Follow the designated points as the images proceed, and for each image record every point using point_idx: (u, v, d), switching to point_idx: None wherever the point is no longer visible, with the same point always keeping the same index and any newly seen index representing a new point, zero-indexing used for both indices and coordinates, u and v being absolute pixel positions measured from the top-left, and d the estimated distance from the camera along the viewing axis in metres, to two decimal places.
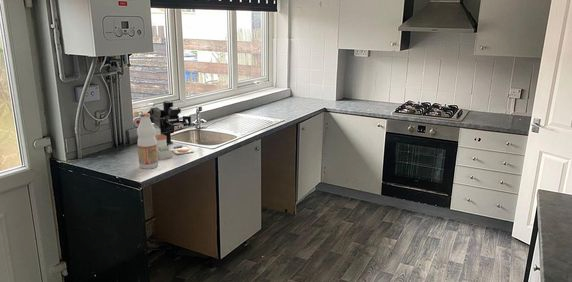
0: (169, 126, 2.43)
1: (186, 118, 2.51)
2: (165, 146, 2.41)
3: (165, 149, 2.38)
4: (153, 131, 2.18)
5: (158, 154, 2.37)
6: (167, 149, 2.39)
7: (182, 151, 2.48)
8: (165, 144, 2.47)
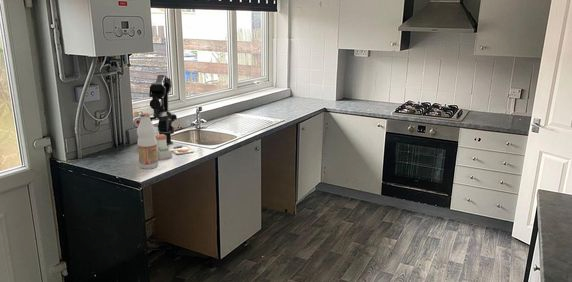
0: None
1: (171, 122, 2.46)
2: (165, 146, 2.41)
3: (165, 149, 2.38)
4: (153, 131, 2.18)
5: (158, 154, 2.37)
6: (167, 149, 2.39)
7: (182, 151, 2.48)
8: (165, 144, 2.47)
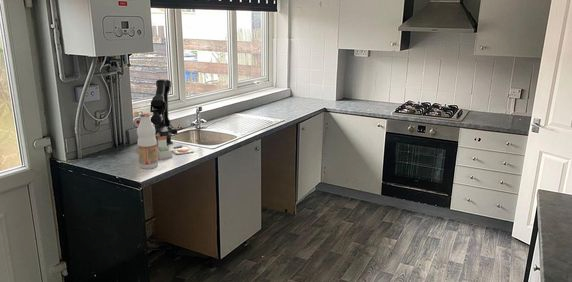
0: None
1: (168, 137, 2.48)
2: (165, 146, 2.41)
3: (165, 149, 2.38)
4: (153, 131, 2.18)
5: (158, 154, 2.37)
6: (167, 149, 2.39)
7: (182, 151, 2.48)
8: (165, 144, 2.47)
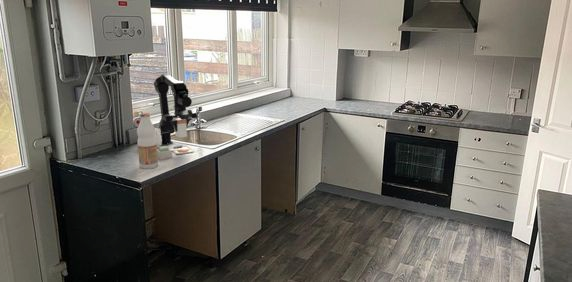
0: (174, 127, 2.45)
1: (188, 120, 2.46)
2: (165, 146, 2.41)
3: (165, 149, 2.38)
4: (153, 131, 2.18)
5: (158, 154, 2.37)
6: (167, 149, 2.39)
7: (182, 151, 2.48)
8: (185, 128, 2.45)
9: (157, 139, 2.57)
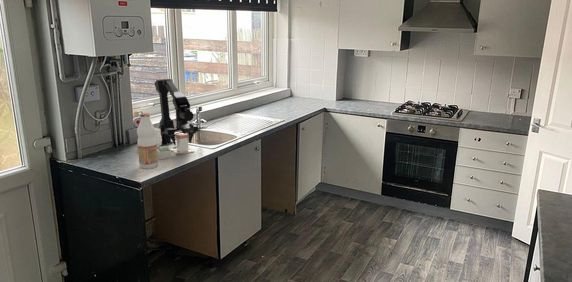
0: None
1: (193, 133, 2.49)
2: (165, 146, 2.41)
3: (165, 149, 2.38)
4: (153, 131, 2.18)
5: (158, 154, 2.37)
6: (167, 149, 2.39)
7: None
8: (187, 142, 2.48)
9: (157, 139, 2.57)
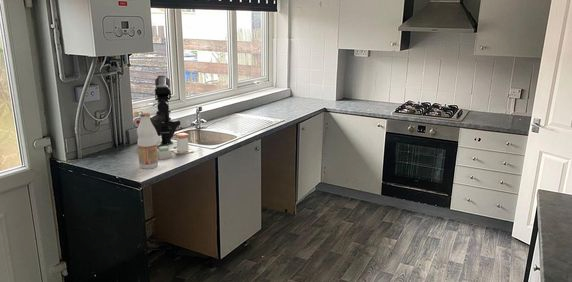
0: None
1: (170, 128, 2.33)
2: (165, 146, 2.41)
3: (165, 149, 2.38)
4: (153, 131, 2.18)
5: (158, 154, 2.37)
6: (167, 149, 2.39)
7: None
8: (187, 143, 2.48)
9: (156, 138, 2.57)
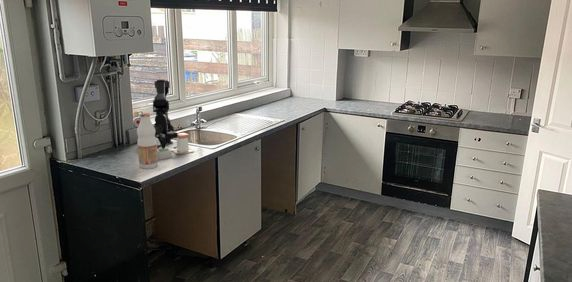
0: None
1: (161, 139, 2.35)
2: (165, 147, 2.41)
3: (165, 150, 2.38)
4: (153, 131, 2.18)
5: (158, 154, 2.37)
6: (167, 150, 2.39)
7: None
8: (187, 143, 2.48)
9: (156, 138, 2.57)
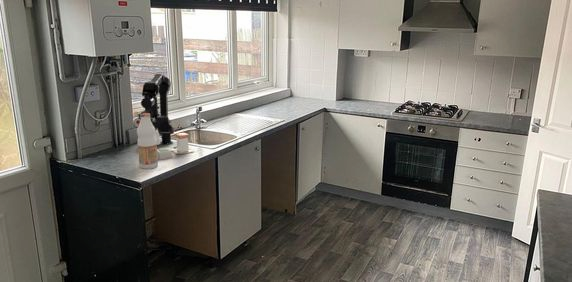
0: None
1: (152, 123, 2.37)
2: (165, 148, 2.41)
3: None
4: (153, 131, 2.18)
5: (158, 154, 2.37)
6: None
7: None
8: (187, 143, 2.48)
9: None
